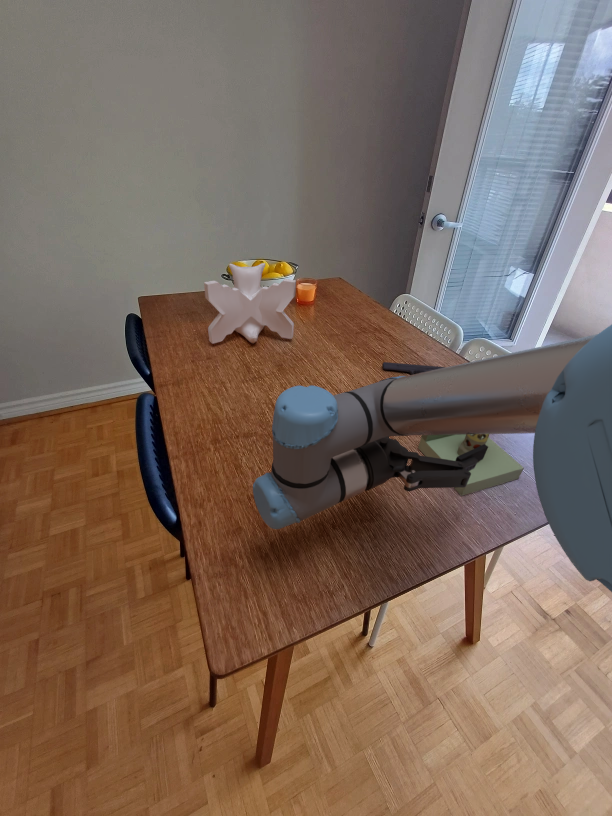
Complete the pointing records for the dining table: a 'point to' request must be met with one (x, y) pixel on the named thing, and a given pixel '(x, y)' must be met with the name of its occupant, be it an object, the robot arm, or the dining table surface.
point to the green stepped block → (487, 471)
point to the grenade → (472, 442)
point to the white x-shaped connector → (249, 305)
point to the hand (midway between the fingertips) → (451, 428)
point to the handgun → (408, 367)
